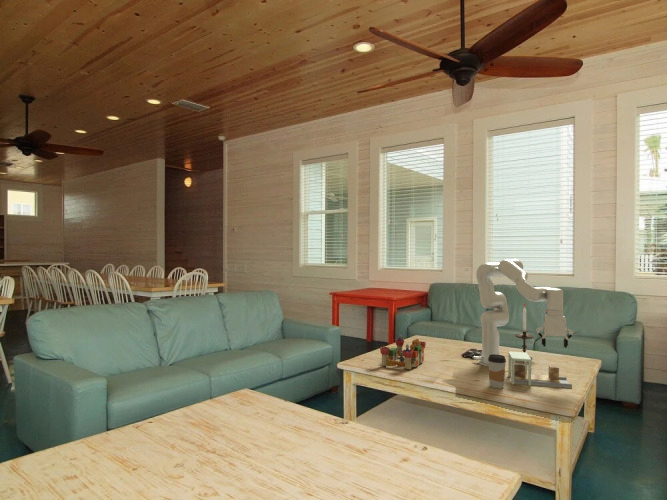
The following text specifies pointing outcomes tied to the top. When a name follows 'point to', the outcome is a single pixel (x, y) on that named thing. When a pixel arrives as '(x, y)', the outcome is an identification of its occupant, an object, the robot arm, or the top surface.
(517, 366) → the cube
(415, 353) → the block castle
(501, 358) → the coffee cup
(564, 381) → the lane board
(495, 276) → the robot arm
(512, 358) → the white stool
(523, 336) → the candlestick
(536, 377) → the strip
